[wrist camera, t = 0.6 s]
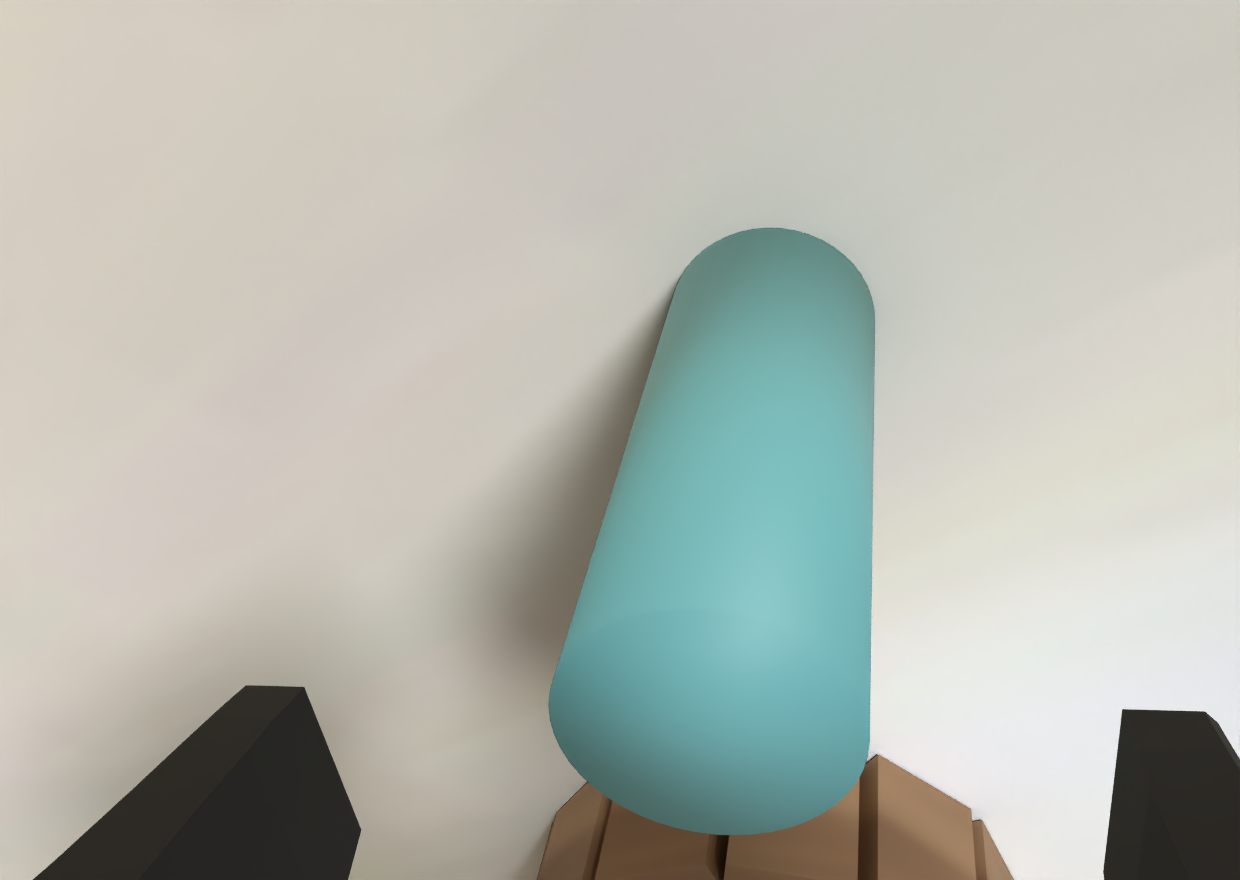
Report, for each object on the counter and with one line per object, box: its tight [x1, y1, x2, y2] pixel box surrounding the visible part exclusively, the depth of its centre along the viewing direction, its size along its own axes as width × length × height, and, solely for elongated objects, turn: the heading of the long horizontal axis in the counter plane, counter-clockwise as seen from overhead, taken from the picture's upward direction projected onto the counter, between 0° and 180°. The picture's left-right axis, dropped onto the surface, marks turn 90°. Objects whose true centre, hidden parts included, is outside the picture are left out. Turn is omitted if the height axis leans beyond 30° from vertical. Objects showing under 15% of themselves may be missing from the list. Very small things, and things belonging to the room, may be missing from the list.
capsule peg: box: [549, 228, 875, 835], centre depth 14 cm, size 3×3×8 cm
